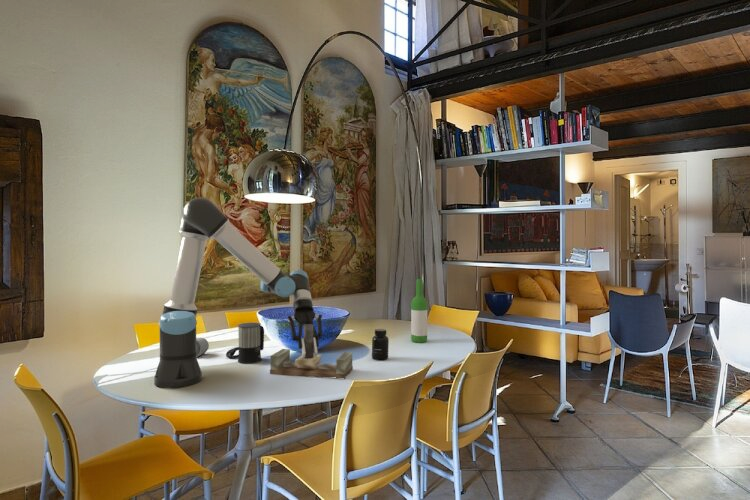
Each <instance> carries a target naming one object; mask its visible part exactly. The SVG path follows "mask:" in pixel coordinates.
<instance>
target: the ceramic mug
mask: <svg viewBox="0 0 750 500" xmlns="http://www.w3.org/2000/svg"><path fill="white" fill-rule="evenodd" d="M209 346H210V344H209V342H208V340H207V339H206V338H205V337H196V357H197V358H198V357H200V356H201V355H203V354H205V353H206V352H207V351H208V350H209Z"/></svg>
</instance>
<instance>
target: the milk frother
mask: <svg viewBox="0 0 750 500" xmlns="http://www.w3.org/2000/svg"><path fill="white" fill-rule="evenodd" d="M237 327H238V346H236V347H233V348H231V349H229V350H227V352H226V353H225V357H226V358H229V359H237V358H238V359H237V362H238V363H240V364H254V363H259V362H261V361H262V355H261V351H264V346H265V345H264V344H265V329H264V327H263V325H262V324H261V323H260V322H243V323H238V324H237ZM237 351H238V354H236V352H237ZM235 354H236V355H235Z"/></svg>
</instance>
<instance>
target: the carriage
mask: <svg viewBox="0 0 750 500" xmlns="http://www.w3.org/2000/svg"><path fill="white" fill-rule="evenodd" d="M303 338H304V345H305V352H306V354H305V357H304V358H303V355H302V354H301V355H300V356H299V357H297V358H296V359H295V360H294V362H295V365H297V368H308V369H316V364H317V363H320V362H321V361H322V355H321V354H317V357H315V356H314V349H313V325H312V324H304V325H303Z"/></svg>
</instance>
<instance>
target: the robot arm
mask: <svg viewBox="0 0 750 500" xmlns="http://www.w3.org/2000/svg"><path fill="white" fill-rule="evenodd" d="M178 233H179V234H180V236H181V243H180V248H179V253H178V257H177V263H176V266H175V267H176V268H175V272H174V278H173V282H172V287H171V293H170V298H169V300H168V301H167V302H166V303H164V305H163V308H162V309H163V310H162V315H161V316H160V317H159V321H158V326H159V362H158V364H157V368H156V370H155V375H154V379H153V381H154V383H153V384H154V385H155V386H156V387H159V388H167V389H169V388H181V387H187V386H191V385H195V384H197V383H200V382H201V381H202V379H203V377H202V376H203V372H202V370H201V367H200V363H199V361H198V357H196V338H197V324H198V323H197V321H198V320H197V314H198V307H197V306H196V304H195V301H196V297H197V291H198V286H199V281H200V275H201V272H202V271H201V270H202V265H203V260H204V255H205V251H206V245H207V241H209V240H210V239H214V240H215V241H216V242H217V243H218V244H220V245H221V246H222V247H223V248H224V249H225V250H227V251H228V252H229V253H230V254H231V255H232V256H233V257H234V258H235V259H237V260H238V261H239V262H240V263H241V264H243V266H245V267H246V268H247V269H248V270H249V271H250V272H251V273H252V274H254V276H255V277H256V278H258V279H259V280H260V291H261V292H263V293H268V294H270V293H273V294H275V295H277V297H278V296H279V297H280V298H288V297H291V299H292V305H293V315H292V316H290V315H288V316H287V323H288V325H289V328H290V334H291V338H292V341H293V342H295V341H296V342H297V345H298V349H299V350H301V355H303V358H304V357H305V354H306V352H305V345H304V337H302V336H303V335H302V333H303V326H304V325H305V324H312V325H313V354H314V356H315V357H317V355H318V348H319V346H320V340H322V337H323V329H322V327H323V326H322V318H323V315H322V314H319V315H318V314H316V313H315V310H314V306H313V298H312V294H311V287H310V280H309V276H308V273H307V272H306V271H304V270H302V269H297V270H293V271H291V272H290V274H285V273H284V272H283V271H282V270H281V269H280V268H279V267H278V266H277V265H276V264H275V263H274V262H272V261H271V259H269V258H268V257H267V256H266V255H265V254H264V253H263V252H261V251H260V250H259V248H257V247H256V246H255V245H254V244H252V242H251V241H249V240H248V239H247V237H245V236H244V235H243V234H242V233H241V232H240V231H238V229H236V228H235V227H234V226H233V225H232V224H231V223H230V219H229V217H228V216H226V215H225V214H224V213H223V212H222V210H221V209H220V208H219V207H218V206H217V205H216V204H215V202H213V201H212V200H210V199H209V198H206V197H201V196H199V197H194V198H192V199H190V200H189V201H188V202H187V203H186V204H185V205H184V207H183V209H182V211H181V221H180V225H179V230H178ZM314 319H315V321H316V327H317V330H316V327H315V325H314ZM295 321H296V322H297V323H298V331H297V332H296V328H295V327H296V326H295Z"/></svg>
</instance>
